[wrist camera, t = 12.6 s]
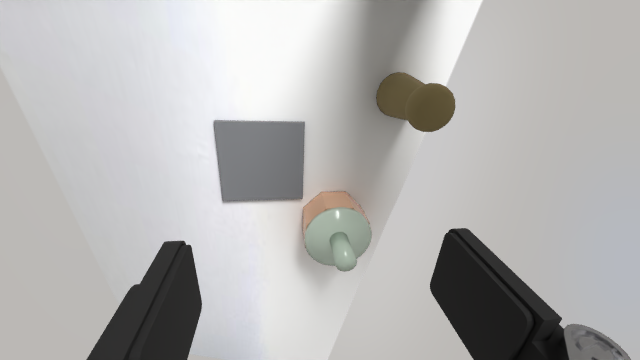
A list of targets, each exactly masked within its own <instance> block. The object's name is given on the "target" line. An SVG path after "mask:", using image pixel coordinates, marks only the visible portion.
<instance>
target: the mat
mask: <svg viewBox="0 0 640 360" xmlns="http://www.w3.org/2000/svg"><path fill="white" fill-rule="evenodd" d="M304 128H305V123H304V122H282V121H225V120H214V129H215V138H216V146H217V155H218V164H219V172H220V181H221V190H222V198H223V201H235V200H275V199H303V164H304Z"/></svg>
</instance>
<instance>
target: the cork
mask: <svg viewBox="0 0 640 360" xmlns="http://www.w3.org/2000/svg"><path fill="white" fill-rule="evenodd" d="M376 99H377V105H378V107H379V109H380V110H381V111H382V112H383V113H384V114H386V115H388V116H391V117H395V118H399V119H404V120H408V121H409V123H410V124H411V125H412V126H413V127H414V128H415V129H417V130H420V131H422V132H433V131H436V130H439V129H440V128H442V127H443V126H445V125H446V124H447V123H448V122H449V121H450V119H451V118H452V116H453V114H454V110H455V99H454V96H453V93H452V92H451V91H450V90H449V89H448V88H447V87H445V86H443V85H441V84H434V83H429V84H424V83H422V82H421V81H419V80H417V79H415V78H414V77H412V76H410V75H408V74H406V73H400V72H397V73H394V74H391V75H389V76H388V77H386V78H385V79H384V80H383V81H382V83H381V84H380V86H379V88H378V90H377V97H376Z"/></svg>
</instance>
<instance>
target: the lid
mask: <svg viewBox="0 0 640 360" xmlns="http://www.w3.org/2000/svg"><path fill="white" fill-rule="evenodd" d="M370 241H371V228H370V225H369V223H368V221H367V220H366V218H365V217H364V216H363V215H362V214H361V213H360V212H358V211H356V210H354V209H351V208H346V207H336V208H331V209H328V210H325V211H323V212H321V213H320V214H318V215H317V216H315V217H314V218H313V219H312V220H311V222H310V223H309V225H308V226H307V228H306V231H305V246H306V249H307V252H308V253H309V255H310V256H311V257H312V258H313V259H314V260H316V261H317V262H319V263H321V264H325V265H331V266H336V267H337V269H338V270H340V271H350V270H352V269H353V268H354V267H355V266H356V264H357V260H356V259H357V258H358V257H360V256H361V255H362V254H363V253H364V252H365V251H366V249H367V248H368V246H369V244H370Z"/></svg>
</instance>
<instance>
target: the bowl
mask: <svg viewBox="0 0 640 360" xmlns="http://www.w3.org/2000/svg"><path fill="white" fill-rule="evenodd" d="M336 207H346V208H351V209H354V210H356V211H358V212H360V213H361V214H362V215H363V216H364V217H365V218H366V220H367V221H368V219H367V217H366V216H365V214H364V212H363V210H362V208H361V206H360V205H359V204H358V203H357V202H356V201H355V200H354V199H353V198H352V197H351V196H350V195H349V194H348V193H347V192H321V193H320V194H319V195H317V196H316V197H315V198H314V199H313V200H312V201H310V202H309V203H308V204H307V205H306V206H305V207H304V208H303V235H304V242H305V231H306V228H307V226H308V225H309V223H310V222H311V220H312V219H313V218H314V217H315V216H317V215H318V214H320V213H321V212H323V211H325V210H328V209H331V208H336ZM368 223H369V221H368ZM305 248H306V246H305Z"/></svg>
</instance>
